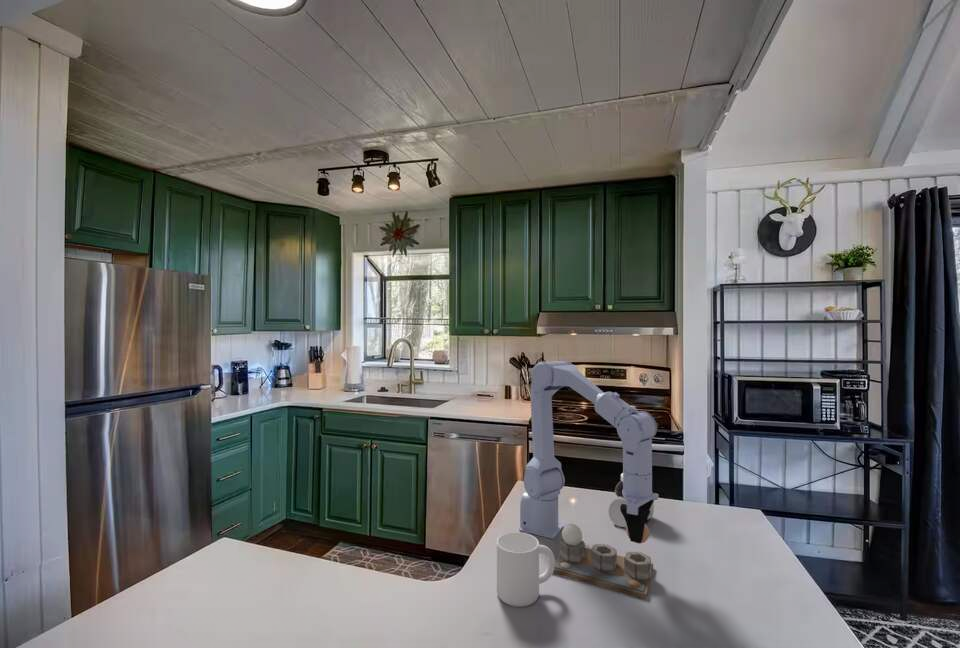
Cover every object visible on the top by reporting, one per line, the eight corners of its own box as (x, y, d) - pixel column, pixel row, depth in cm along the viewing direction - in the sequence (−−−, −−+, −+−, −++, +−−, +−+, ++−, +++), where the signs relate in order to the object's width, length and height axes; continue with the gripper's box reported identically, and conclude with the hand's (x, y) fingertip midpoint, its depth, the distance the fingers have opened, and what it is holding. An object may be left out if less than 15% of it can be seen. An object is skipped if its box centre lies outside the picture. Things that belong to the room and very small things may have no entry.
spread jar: (651, 514, 120) (650, 472, 120) (658, 533, 109) (658, 487, 109) (606, 510, 123) (606, 469, 123) (609, 528, 112) (609, 483, 112)
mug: (546, 577, 90) (546, 527, 90) (564, 601, 82) (563, 547, 82) (491, 585, 87) (491, 534, 87) (504, 611, 79) (504, 555, 79)
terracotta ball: (624, 544, 89) (624, 522, 89) (628, 535, 93) (628, 514, 93) (647, 549, 87) (647, 527, 87) (650, 540, 91) (650, 518, 91)
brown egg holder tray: (551, 572, 91) (551, 553, 91) (567, 547, 102) (567, 530, 102) (646, 599, 82) (646, 578, 82) (653, 568, 93) (653, 550, 93)
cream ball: (559, 546, 95) (559, 526, 95) (565, 538, 99) (565, 518, 99) (579, 551, 93) (579, 531, 93) (584, 542, 97) (584, 522, 97)
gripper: (653, 485, 82) (654, 557, 81) (661, 464, 94) (661, 526, 94) (615, 479, 85) (616, 548, 85) (627, 459, 98) (628, 519, 98)
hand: (637, 536), depth 90 cm, fingers closed on terracotta ball, 4 cm apart
